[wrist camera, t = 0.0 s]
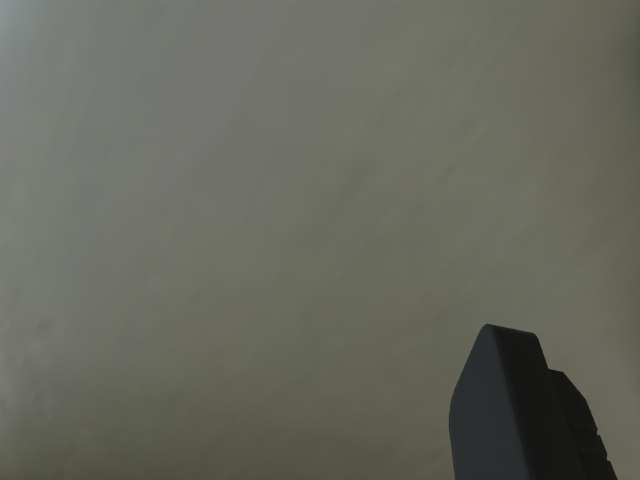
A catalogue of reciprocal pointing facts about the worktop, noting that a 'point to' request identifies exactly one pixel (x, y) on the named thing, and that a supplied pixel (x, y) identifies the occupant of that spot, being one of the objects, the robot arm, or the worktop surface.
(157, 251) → the worktop surface
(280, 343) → the worktop surface
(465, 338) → the worktop surface
